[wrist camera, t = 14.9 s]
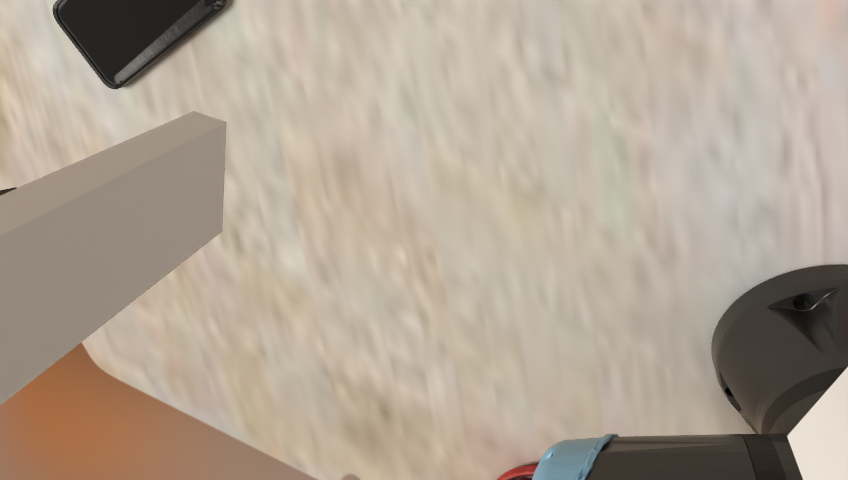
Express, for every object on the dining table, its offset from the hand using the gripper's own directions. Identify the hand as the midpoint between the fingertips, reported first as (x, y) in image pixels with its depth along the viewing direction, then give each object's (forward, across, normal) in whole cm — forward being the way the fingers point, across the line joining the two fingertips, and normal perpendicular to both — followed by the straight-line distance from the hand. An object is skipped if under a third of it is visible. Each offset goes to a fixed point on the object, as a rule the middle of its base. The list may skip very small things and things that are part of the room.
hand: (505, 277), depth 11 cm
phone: (+31, +33, +6) cm, 46 cm away
